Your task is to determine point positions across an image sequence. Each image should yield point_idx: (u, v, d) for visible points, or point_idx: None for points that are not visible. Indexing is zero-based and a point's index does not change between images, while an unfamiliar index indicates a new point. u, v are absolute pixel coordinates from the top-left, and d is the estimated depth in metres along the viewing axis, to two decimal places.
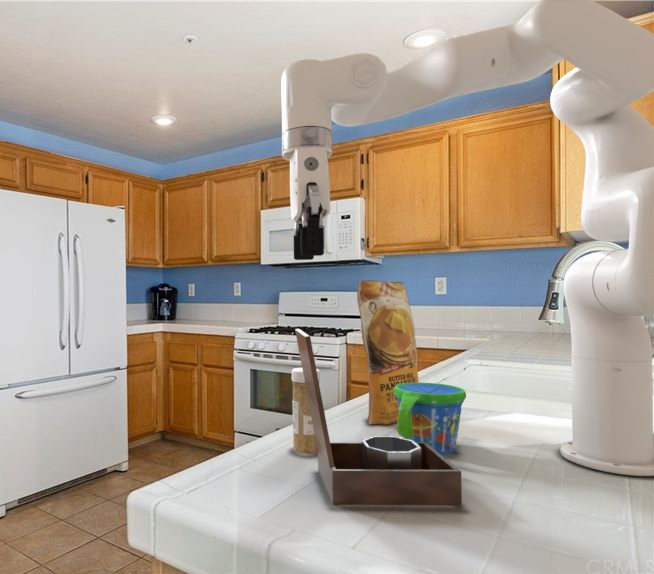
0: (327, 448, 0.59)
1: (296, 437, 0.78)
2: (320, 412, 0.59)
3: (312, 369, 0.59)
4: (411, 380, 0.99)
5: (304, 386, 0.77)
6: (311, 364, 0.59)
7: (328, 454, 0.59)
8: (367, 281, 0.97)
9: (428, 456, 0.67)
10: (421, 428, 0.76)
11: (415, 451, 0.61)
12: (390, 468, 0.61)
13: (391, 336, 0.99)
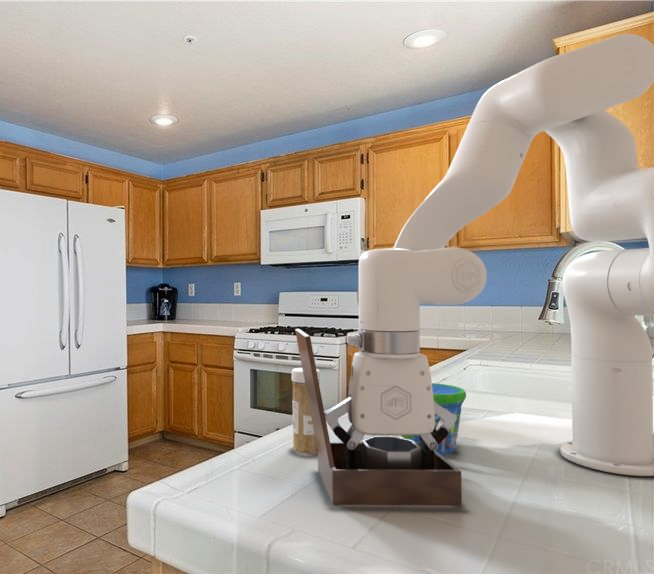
0: (327, 448, 0.59)
1: (296, 437, 0.78)
2: (320, 412, 0.59)
3: (312, 369, 0.59)
4: None
5: (304, 386, 0.77)
6: (311, 364, 0.59)
7: (328, 454, 0.59)
8: None
9: None
10: None
11: (415, 451, 0.61)
12: (390, 468, 0.61)
13: None
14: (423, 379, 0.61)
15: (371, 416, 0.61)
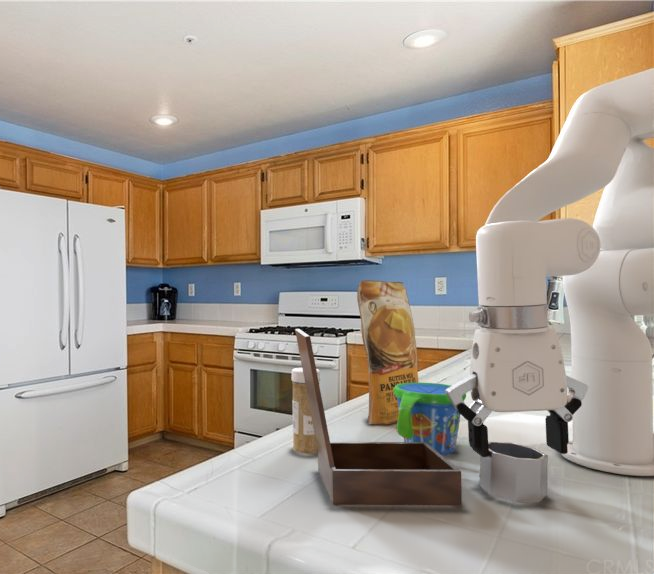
0: (327, 448, 0.59)
1: (296, 437, 0.78)
2: (320, 412, 0.59)
3: (312, 369, 0.59)
4: (411, 380, 0.99)
5: (304, 386, 0.77)
6: (311, 364, 0.59)
7: (328, 454, 0.59)
8: (367, 281, 0.97)
9: (428, 456, 0.67)
10: (421, 428, 0.76)
11: (544, 459, 0.60)
12: (519, 475, 0.59)
13: (391, 336, 0.99)
14: (554, 352, 0.60)
15: (503, 393, 0.60)
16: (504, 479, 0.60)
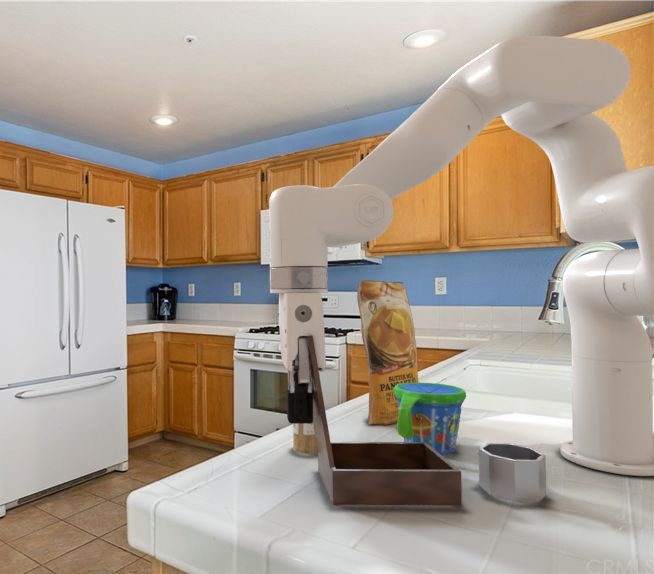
0: (327, 448, 0.59)
1: (296, 437, 0.78)
2: (321, 412, 0.59)
3: (314, 369, 0.59)
4: (411, 380, 0.99)
5: None
6: (313, 364, 0.59)
7: (328, 454, 0.59)
8: (367, 281, 0.97)
9: (428, 456, 0.67)
10: (421, 428, 0.76)
11: (541, 459, 0.60)
12: (517, 477, 0.59)
13: (391, 336, 0.99)
14: None
15: None
16: (503, 482, 0.60)
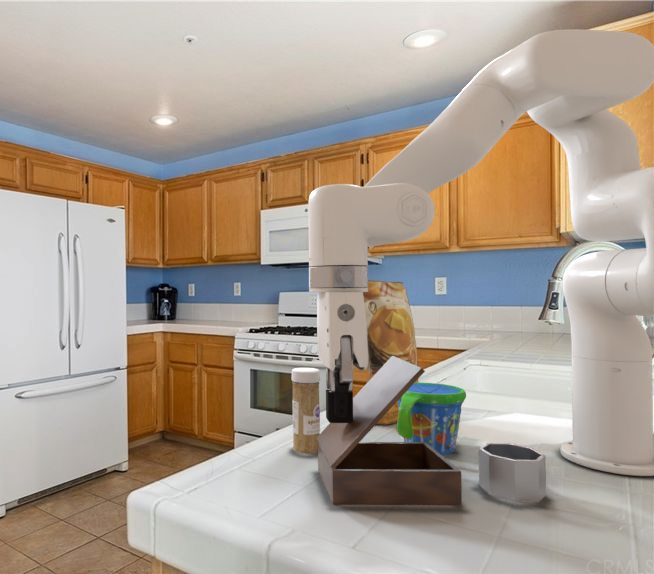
0: (345, 452, 0.59)
1: (296, 437, 0.78)
2: (369, 425, 0.59)
3: (399, 393, 0.58)
4: None
5: (304, 386, 0.77)
6: (403, 389, 0.58)
7: (340, 456, 0.59)
8: None
9: (428, 456, 0.67)
10: (421, 428, 0.76)
11: (541, 459, 0.60)
12: (517, 477, 0.59)
13: (391, 336, 0.99)
14: None
15: None
16: (503, 482, 0.60)
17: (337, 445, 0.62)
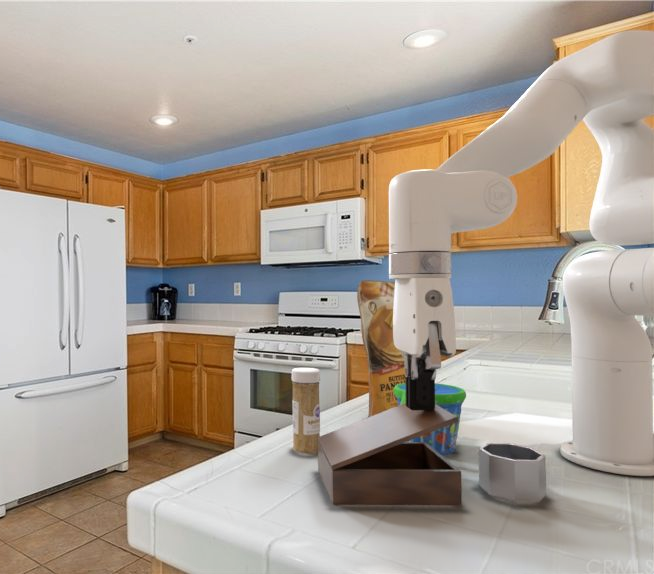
0: (350, 459, 0.59)
1: (296, 437, 0.78)
2: (384, 446, 0.59)
3: (426, 430, 0.58)
4: None
5: (304, 386, 0.77)
6: (431, 428, 0.58)
7: (344, 461, 0.59)
8: (367, 281, 0.97)
9: (428, 456, 0.67)
10: None
11: (541, 459, 0.60)
12: (517, 477, 0.59)
13: (391, 336, 0.99)
14: None
15: None
16: (503, 482, 0.60)
17: (342, 451, 0.62)
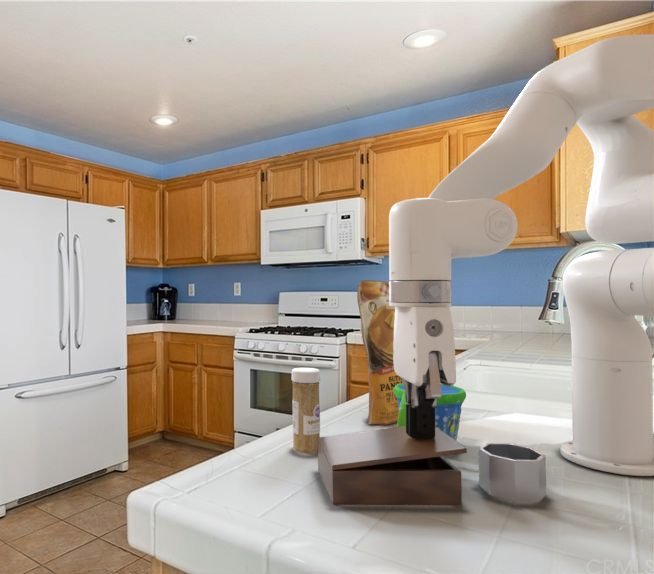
0: (352, 464, 0.59)
1: (296, 437, 0.78)
2: (388, 459, 0.58)
3: (432, 453, 0.58)
4: None
5: (304, 386, 0.77)
6: (438, 452, 0.58)
7: (346, 464, 0.59)
8: (367, 281, 0.97)
9: None
10: None
11: (541, 459, 0.60)
12: (517, 477, 0.59)
13: (391, 336, 0.99)
14: None
15: None
16: (503, 482, 0.60)
17: (344, 454, 0.62)
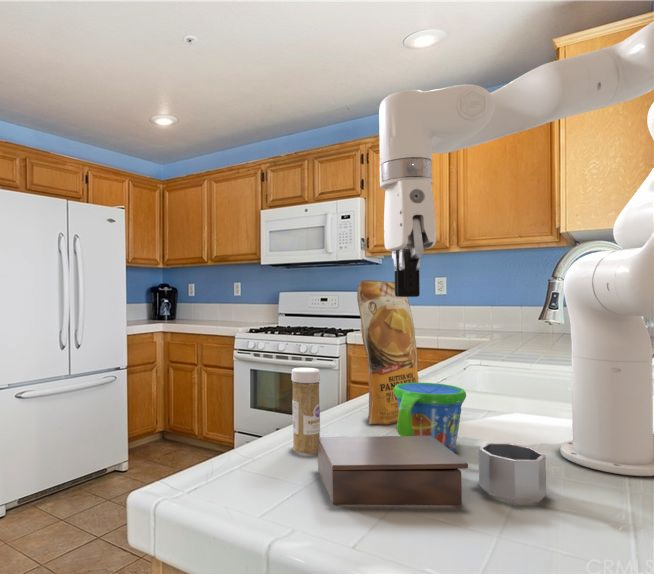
0: (352, 466, 0.59)
1: (296, 437, 0.78)
2: (389, 465, 0.58)
3: (434, 465, 0.58)
4: (411, 380, 0.99)
5: (304, 386, 0.77)
6: (439, 465, 0.58)
7: (346, 466, 0.59)
8: (367, 281, 0.97)
9: None
10: (421, 428, 0.76)
11: (541, 459, 0.60)
12: (517, 477, 0.59)
13: (391, 336, 0.99)
14: None
15: None
16: (503, 482, 0.60)
17: (344, 456, 0.62)
